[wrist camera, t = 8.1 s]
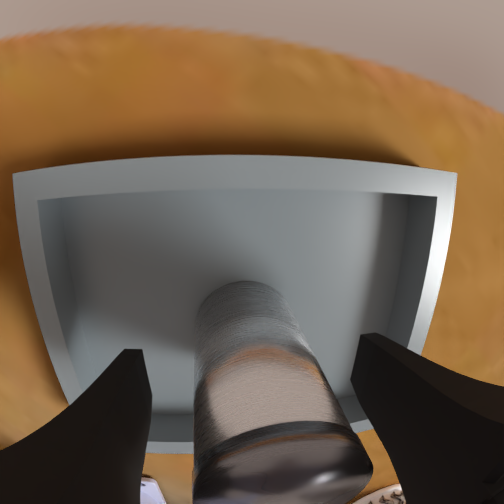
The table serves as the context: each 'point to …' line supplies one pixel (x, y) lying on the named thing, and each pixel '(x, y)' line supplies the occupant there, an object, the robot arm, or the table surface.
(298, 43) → the table surface
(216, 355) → the shaker
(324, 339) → the tray
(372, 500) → the decorative candle
